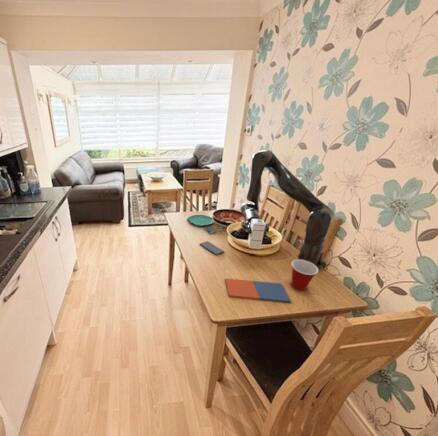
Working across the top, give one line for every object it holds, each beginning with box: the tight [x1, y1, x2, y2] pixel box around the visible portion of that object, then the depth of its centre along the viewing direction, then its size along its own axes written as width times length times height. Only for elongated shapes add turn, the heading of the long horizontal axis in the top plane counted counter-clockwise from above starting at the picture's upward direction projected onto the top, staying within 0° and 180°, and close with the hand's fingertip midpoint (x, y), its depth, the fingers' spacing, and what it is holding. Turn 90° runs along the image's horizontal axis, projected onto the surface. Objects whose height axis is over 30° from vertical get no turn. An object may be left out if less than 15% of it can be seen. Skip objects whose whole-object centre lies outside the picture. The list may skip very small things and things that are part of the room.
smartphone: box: [199, 240, 225, 256], centre depth 147 cm, size 7×1×15 cm
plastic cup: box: [290, 258, 319, 291], centre depth 112 cm, size 11×11×12 cm
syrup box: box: [247, 218, 266, 250], centre depth 122 cm, size 6×6×14 cm
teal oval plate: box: [186, 214, 227, 234], centre depth 178 cm, size 20×30×2 cm, turn 22°
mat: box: [224, 278, 292, 304], centre depth 112 cm, size 26×12×1 cm, turn 81°
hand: (257, 233), depth 119 cm, fingers closed on syrup box, 6 cm apart
